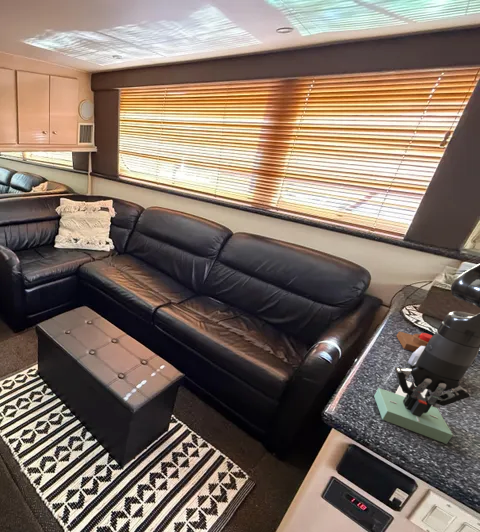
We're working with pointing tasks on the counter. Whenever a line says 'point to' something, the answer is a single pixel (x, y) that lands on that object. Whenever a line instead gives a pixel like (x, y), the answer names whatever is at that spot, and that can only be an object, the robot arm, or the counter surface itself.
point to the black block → (419, 406)
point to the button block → (411, 341)
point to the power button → (425, 337)
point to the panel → (412, 417)
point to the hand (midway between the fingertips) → (412, 409)
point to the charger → (416, 355)
